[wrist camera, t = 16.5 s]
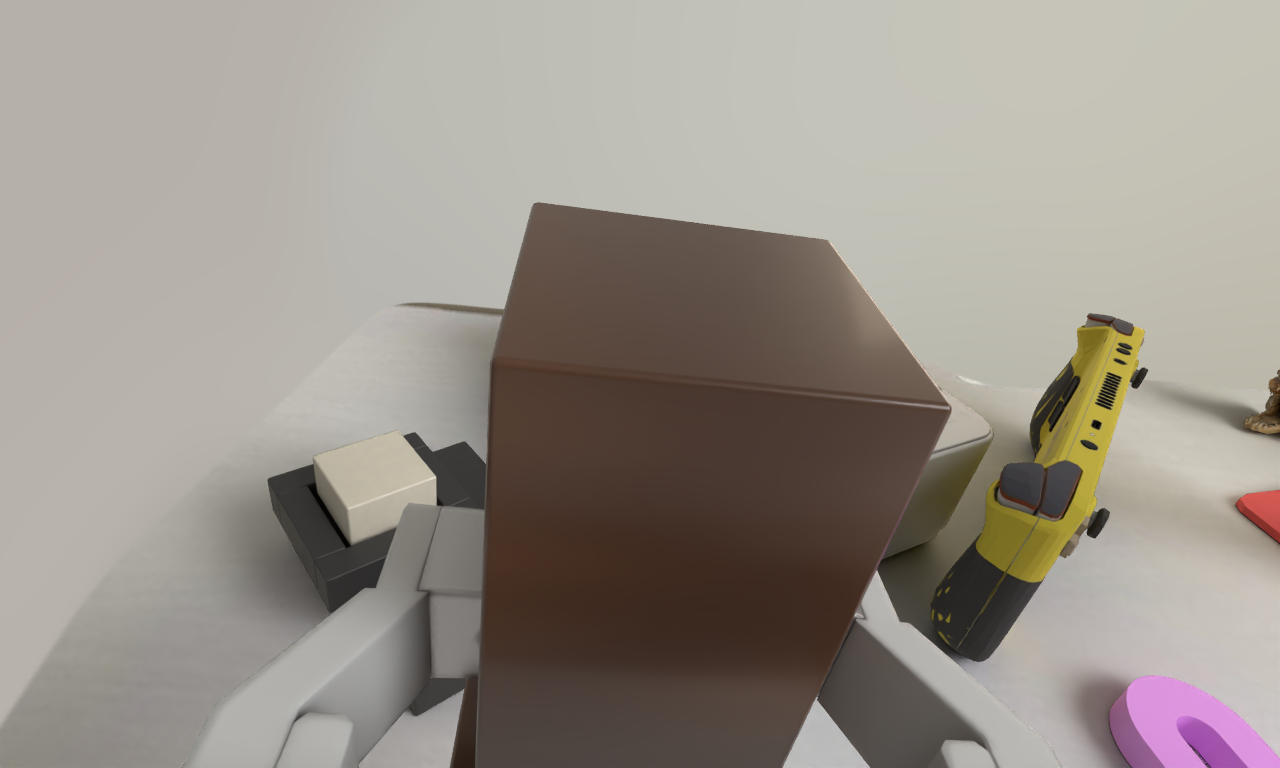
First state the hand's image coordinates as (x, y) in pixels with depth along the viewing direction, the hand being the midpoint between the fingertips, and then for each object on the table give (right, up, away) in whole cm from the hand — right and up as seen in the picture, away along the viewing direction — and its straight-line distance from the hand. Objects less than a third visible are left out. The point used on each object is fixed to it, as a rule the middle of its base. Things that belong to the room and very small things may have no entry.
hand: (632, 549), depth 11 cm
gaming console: (+21, -6, +29) cm, 36 cm away
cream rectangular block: (-11, -2, +18) cm, 21 cm away
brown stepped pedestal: (-1, -5, +2) cm, 6 cm away
